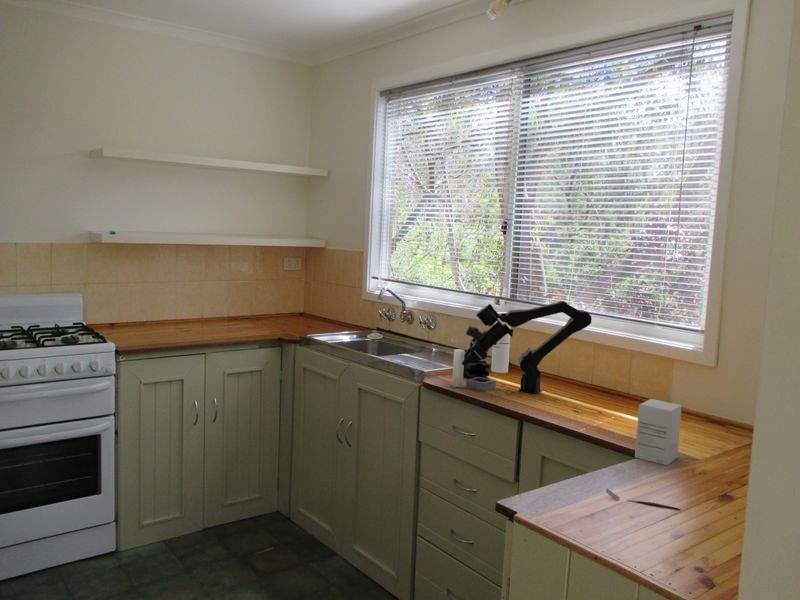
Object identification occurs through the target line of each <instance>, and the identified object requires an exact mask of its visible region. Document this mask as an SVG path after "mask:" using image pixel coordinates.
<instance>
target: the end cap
mask: <svg viewBox="0 0 800 600" xmlns="http://www.w3.org/2000/svg"><path fill="white" fill-rule="evenodd" d="M487 369H488V370H491V366H490V364H488V363H487V360H480V361H477V362H473V363H470V364H467V365H464V371H463V379H466V380H467V379H471V378H476V377H482V378H486V379H489V376H490V371H488V370H487Z"/></svg>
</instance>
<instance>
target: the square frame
mask: <svg viewBox="0 0 800 600" xmlns="http://www.w3.org/2000/svg"><path fill="white" fill-rule="evenodd" d="M465 381H466V383H465V384H466V385H465V388H466V387H469V388H468V389H471V388H473V389H472V390H475V389H478V390H477V391H479V390H481V391H480V392H483V391H484V392H487V391H486V390H488V391H491V390H495V389H496V387H497V380H495V379H490V378H488V379H486V378H482V377H476V378H471V379H466V380H465ZM494 388H495V389H494ZM490 389H491V390H490Z"/></svg>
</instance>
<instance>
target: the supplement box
mask: <svg viewBox="0 0 800 600" xmlns="http://www.w3.org/2000/svg"><path fill="white" fill-rule="evenodd" d="M682 407H683V406H682V404H677V403H673V402H668V401H667V402H666V401H663V400H658V399H652V398H649V399H648V400H646V401H644V402H642V403H640V404H638V414H637V415H638V416H637V425H636V426H637V427H636V428H637V429H636V439H635V452H634V458H637V459H640V460H643V461H649V462H651V463H655V464H660V465H665V466H669V464H671V463H672V462H673V461H674V460H676V459H677V458H678V453H679V443H680V442H679V441H680V432H681V431H680V429H681V417H682Z"/></svg>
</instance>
